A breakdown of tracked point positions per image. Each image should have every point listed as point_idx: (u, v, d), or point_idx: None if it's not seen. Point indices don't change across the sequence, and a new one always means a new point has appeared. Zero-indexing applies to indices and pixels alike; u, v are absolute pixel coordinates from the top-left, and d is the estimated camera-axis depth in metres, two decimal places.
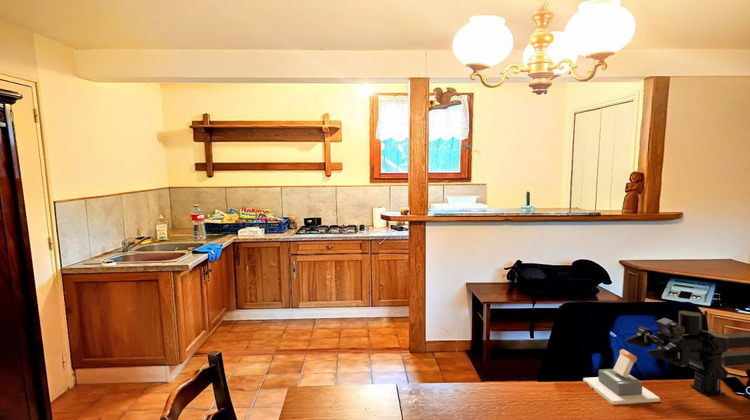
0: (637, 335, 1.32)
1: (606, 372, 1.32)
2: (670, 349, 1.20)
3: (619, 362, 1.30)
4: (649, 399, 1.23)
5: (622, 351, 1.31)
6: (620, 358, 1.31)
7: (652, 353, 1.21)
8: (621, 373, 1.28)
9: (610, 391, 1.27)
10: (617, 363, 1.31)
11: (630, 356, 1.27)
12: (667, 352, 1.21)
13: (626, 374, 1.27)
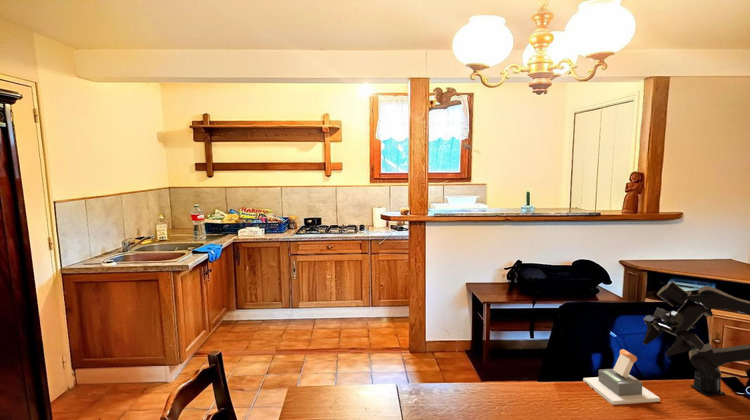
0: (648, 331, 1.35)
1: (606, 372, 1.32)
2: (681, 342, 1.23)
3: (619, 362, 1.30)
4: (649, 399, 1.23)
5: (622, 351, 1.31)
6: (620, 358, 1.31)
7: (670, 354, 1.25)
8: (621, 373, 1.28)
9: (610, 391, 1.27)
10: (617, 363, 1.31)
11: (630, 356, 1.27)
12: (680, 344, 1.24)
13: (626, 374, 1.27)
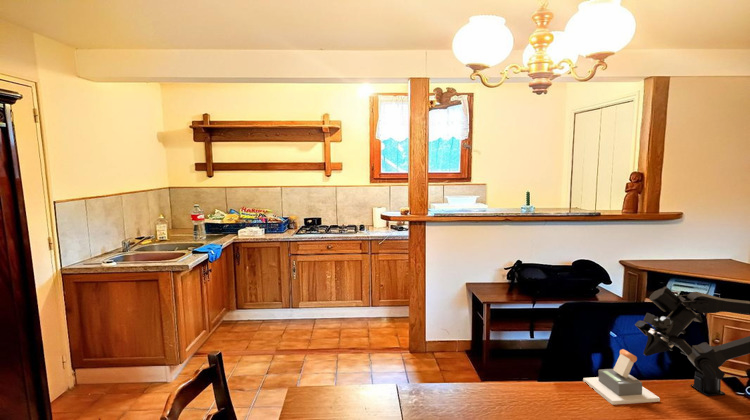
0: (649, 341, 1.31)
1: (606, 372, 1.32)
2: (659, 342, 1.28)
3: (619, 362, 1.30)
4: (649, 399, 1.23)
5: (622, 351, 1.31)
6: (620, 358, 1.31)
7: (649, 353, 1.30)
8: (621, 373, 1.28)
9: (610, 391, 1.27)
10: (617, 363, 1.31)
11: (630, 356, 1.27)
12: (659, 344, 1.29)
13: (626, 374, 1.27)
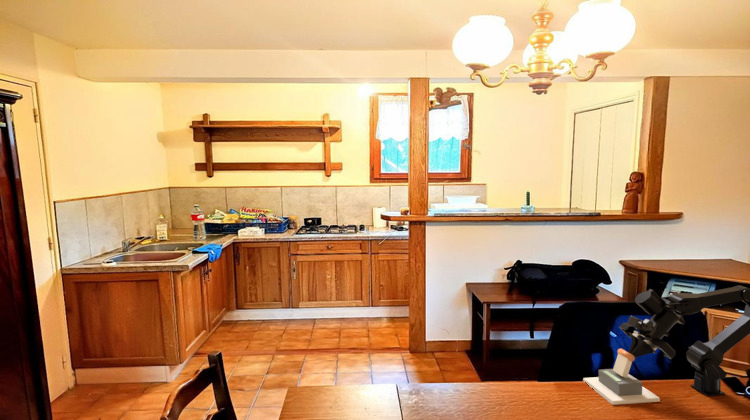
0: (633, 344, 1.30)
1: (606, 372, 1.32)
2: (642, 345, 1.27)
3: (618, 361, 1.30)
4: (649, 399, 1.23)
5: (620, 351, 1.31)
6: (618, 358, 1.31)
7: None
8: (621, 373, 1.28)
9: (610, 391, 1.27)
10: (616, 363, 1.31)
11: (628, 356, 1.27)
12: (642, 346, 1.28)
13: (626, 374, 1.27)
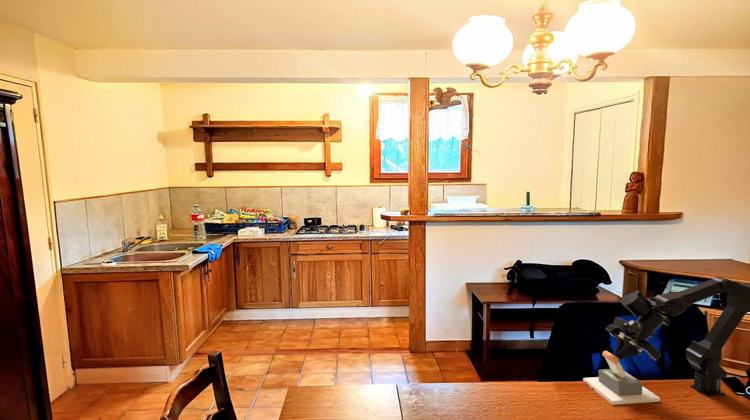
0: (618, 345, 1.30)
1: (606, 372, 1.32)
2: (628, 346, 1.27)
3: (610, 365, 1.30)
4: (649, 399, 1.23)
5: (604, 355, 1.30)
6: (608, 361, 1.30)
7: None
8: (619, 375, 1.28)
9: (610, 391, 1.27)
10: (610, 366, 1.31)
11: (612, 360, 1.27)
12: (628, 348, 1.28)
13: (623, 374, 1.27)
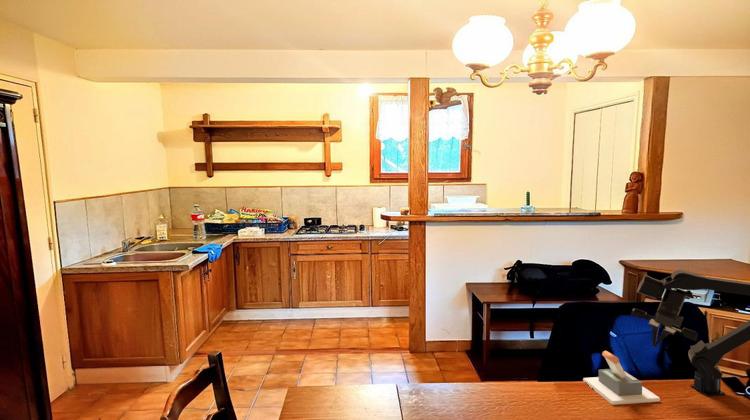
0: (655, 333, 1.32)
1: (606, 372, 1.32)
2: None
3: (610, 365, 1.30)
4: (649, 399, 1.23)
5: (604, 355, 1.30)
6: (608, 361, 1.30)
7: (656, 344, 1.32)
8: (619, 376, 1.28)
9: (610, 391, 1.27)
10: (610, 366, 1.31)
11: (611, 360, 1.27)
12: None
13: (623, 374, 1.27)
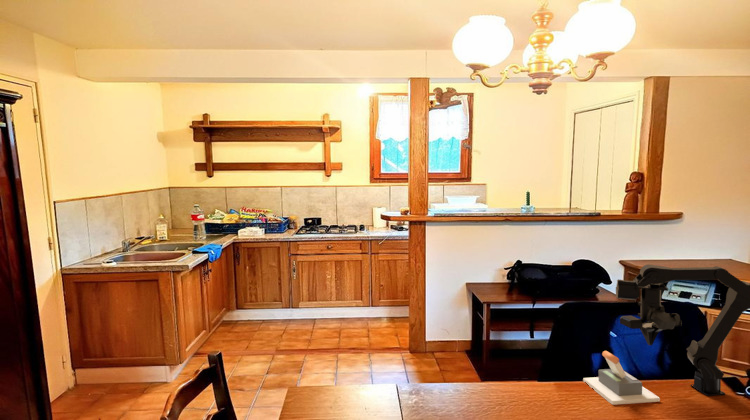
0: (650, 333, 1.34)
1: (606, 372, 1.32)
2: None
3: (610, 365, 1.30)
4: (649, 399, 1.23)
5: (604, 355, 1.30)
6: (608, 361, 1.30)
7: None
8: (619, 376, 1.28)
9: (610, 391, 1.27)
10: (610, 366, 1.31)
11: (611, 360, 1.27)
12: None
13: (623, 374, 1.27)
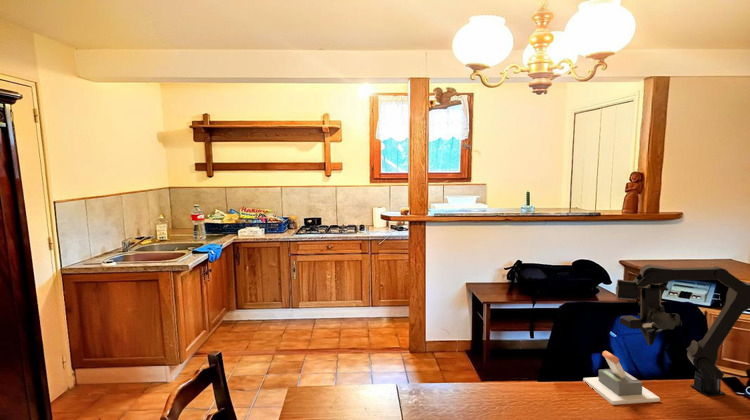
0: (650, 333, 1.34)
1: (606, 372, 1.32)
2: None
3: (610, 365, 1.30)
4: (649, 399, 1.23)
5: (604, 355, 1.30)
6: (608, 361, 1.30)
7: None
8: (619, 376, 1.28)
9: (610, 391, 1.27)
10: (610, 366, 1.31)
11: (611, 360, 1.27)
12: None
13: (623, 374, 1.27)
